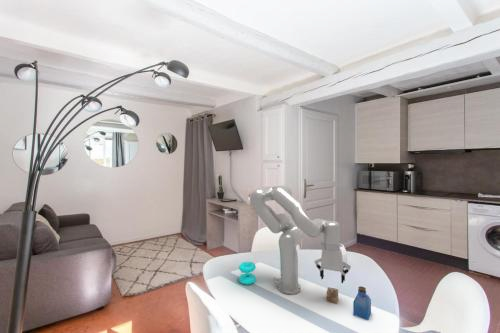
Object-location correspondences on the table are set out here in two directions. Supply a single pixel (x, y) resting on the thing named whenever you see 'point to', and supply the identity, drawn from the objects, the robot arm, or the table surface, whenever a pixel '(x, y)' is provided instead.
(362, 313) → the perfume bottle
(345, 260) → the white jar
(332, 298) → the letter cube
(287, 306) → the table surface
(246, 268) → the donuts
